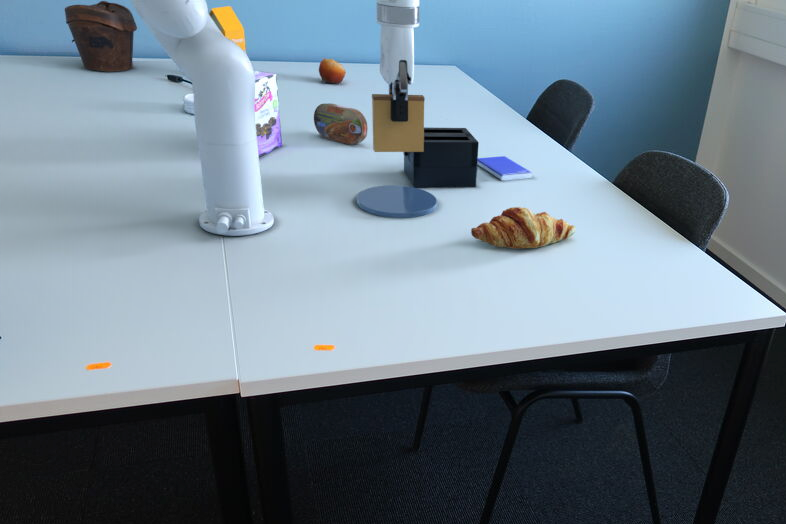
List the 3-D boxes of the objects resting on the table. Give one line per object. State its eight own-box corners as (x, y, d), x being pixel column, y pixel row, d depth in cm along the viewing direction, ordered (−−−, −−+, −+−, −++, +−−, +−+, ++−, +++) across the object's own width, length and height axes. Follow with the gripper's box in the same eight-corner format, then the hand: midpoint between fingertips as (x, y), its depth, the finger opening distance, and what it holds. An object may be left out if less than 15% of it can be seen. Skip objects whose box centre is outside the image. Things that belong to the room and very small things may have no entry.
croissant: (564, 248, 150) (561, 208, 150) (588, 244, 141) (585, 201, 140) (465, 254, 142) (461, 211, 141) (483, 250, 133) (479, 204, 132)
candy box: (252, 161, 165) (244, 84, 156) (227, 157, 165) (218, 80, 157) (283, 145, 176) (277, 72, 168) (260, 141, 177) (253, 69, 168)
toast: (423, 151, 148) (424, 97, 142) (374, 152, 145) (373, 96, 139) (421, 149, 149) (422, 95, 144) (372, 149, 146) (371, 93, 141)
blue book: (532, 171, 174) (505, 155, 183) (501, 174, 170) (476, 158, 179) (531, 178, 175) (505, 162, 184) (501, 181, 171) (476, 164, 180)
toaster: (475, 187, 166) (478, 142, 161) (407, 188, 161) (408, 141, 156) (463, 171, 174) (465, 127, 169) (398, 171, 169) (398, 127, 164)
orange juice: (208, 80, 221) (199, 6, 211) (227, 75, 228) (219, 3, 218) (231, 84, 219) (223, 10, 209) (249, 79, 227) (242, 7, 216)
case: (132, 59, 233) (121, -4, 224) (152, 73, 221) (141, 7, 212) (67, 61, 223) (53, -5, 214) (84, 76, 211) (70, 6, 201)
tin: (313, 135, 186) (311, 100, 182) (322, 132, 188) (320, 98, 184) (361, 148, 181) (360, 113, 176) (369, 146, 183) (369, 111, 179)
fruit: (310, 74, 234) (323, 51, 233) (333, 88, 239) (345, 65, 237) (315, 80, 228) (328, 57, 227) (338, 94, 233) (351, 71, 231)
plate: (441, 218, 148) (441, 213, 148) (358, 217, 144) (358, 212, 144) (432, 190, 161) (432, 186, 161) (355, 188, 157) (355, 184, 157)
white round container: (226, 116, 192) (225, 102, 190) (184, 115, 188) (182, 101, 187) (225, 106, 200) (223, 92, 198) (184, 105, 196) (182, 91, 194)
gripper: (370, 7, 139) (372, 108, 149) (384, 22, 127) (385, 131, 136) (410, 9, 142) (409, 108, 151) (427, 24, 129) (426, 131, 139)
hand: (398, 118), depth 144 cm, fingers closed on toast, 2 cm apart
